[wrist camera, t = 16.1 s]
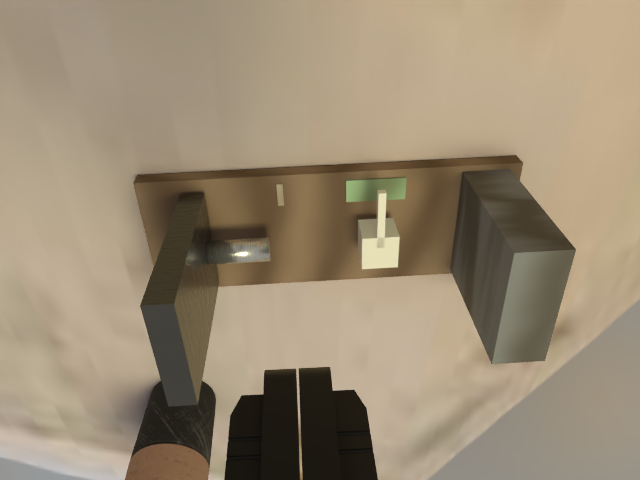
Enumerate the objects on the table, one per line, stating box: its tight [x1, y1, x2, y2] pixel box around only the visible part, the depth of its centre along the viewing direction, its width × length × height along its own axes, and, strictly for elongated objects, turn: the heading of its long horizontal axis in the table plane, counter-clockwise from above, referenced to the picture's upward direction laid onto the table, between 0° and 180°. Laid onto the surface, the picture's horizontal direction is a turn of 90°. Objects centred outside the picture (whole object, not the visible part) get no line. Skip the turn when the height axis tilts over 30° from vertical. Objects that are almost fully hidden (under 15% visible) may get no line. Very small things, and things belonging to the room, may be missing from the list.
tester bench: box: [133, 156, 576, 364], centre depth 42 cm, size 32×11×14 cm, turn 92°
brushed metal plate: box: [140, 193, 271, 407], centre depth 40 cm, size 7×9×14 cm
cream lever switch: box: [358, 190, 400, 269], centre depth 43 cm, size 3×7×3 cm, turn 2°
